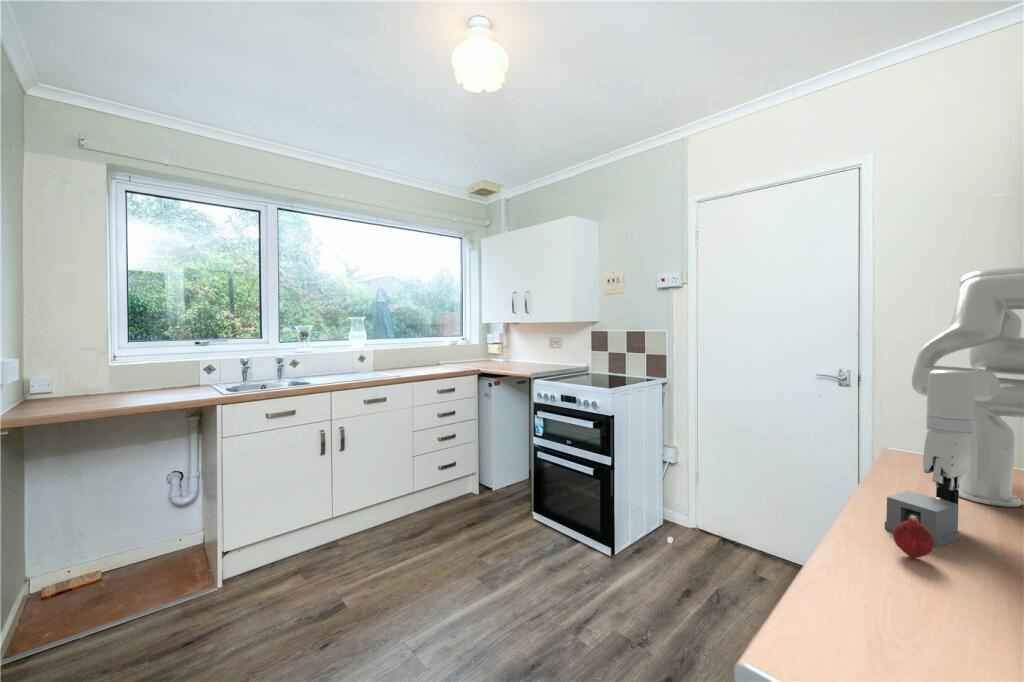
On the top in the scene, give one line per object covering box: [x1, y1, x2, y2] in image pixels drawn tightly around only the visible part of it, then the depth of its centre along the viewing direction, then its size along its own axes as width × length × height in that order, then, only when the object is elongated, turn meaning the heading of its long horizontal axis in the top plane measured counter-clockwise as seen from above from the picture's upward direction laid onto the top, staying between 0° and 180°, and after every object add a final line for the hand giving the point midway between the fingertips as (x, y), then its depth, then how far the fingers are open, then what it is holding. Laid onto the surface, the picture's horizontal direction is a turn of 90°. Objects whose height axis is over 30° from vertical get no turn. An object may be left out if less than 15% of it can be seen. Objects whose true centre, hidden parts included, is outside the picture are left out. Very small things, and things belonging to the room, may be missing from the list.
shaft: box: [907, 497, 950, 523], centre depth 94 cm, size 13×5×5 cm, turn 114°
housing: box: [884, 490, 961, 548], centre depth 93 cm, size 9×9×7 cm
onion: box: [892, 516, 935, 559], centre depth 83 cm, size 6×6×8 cm
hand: (946, 505), depth 98 cm, fingers closed
